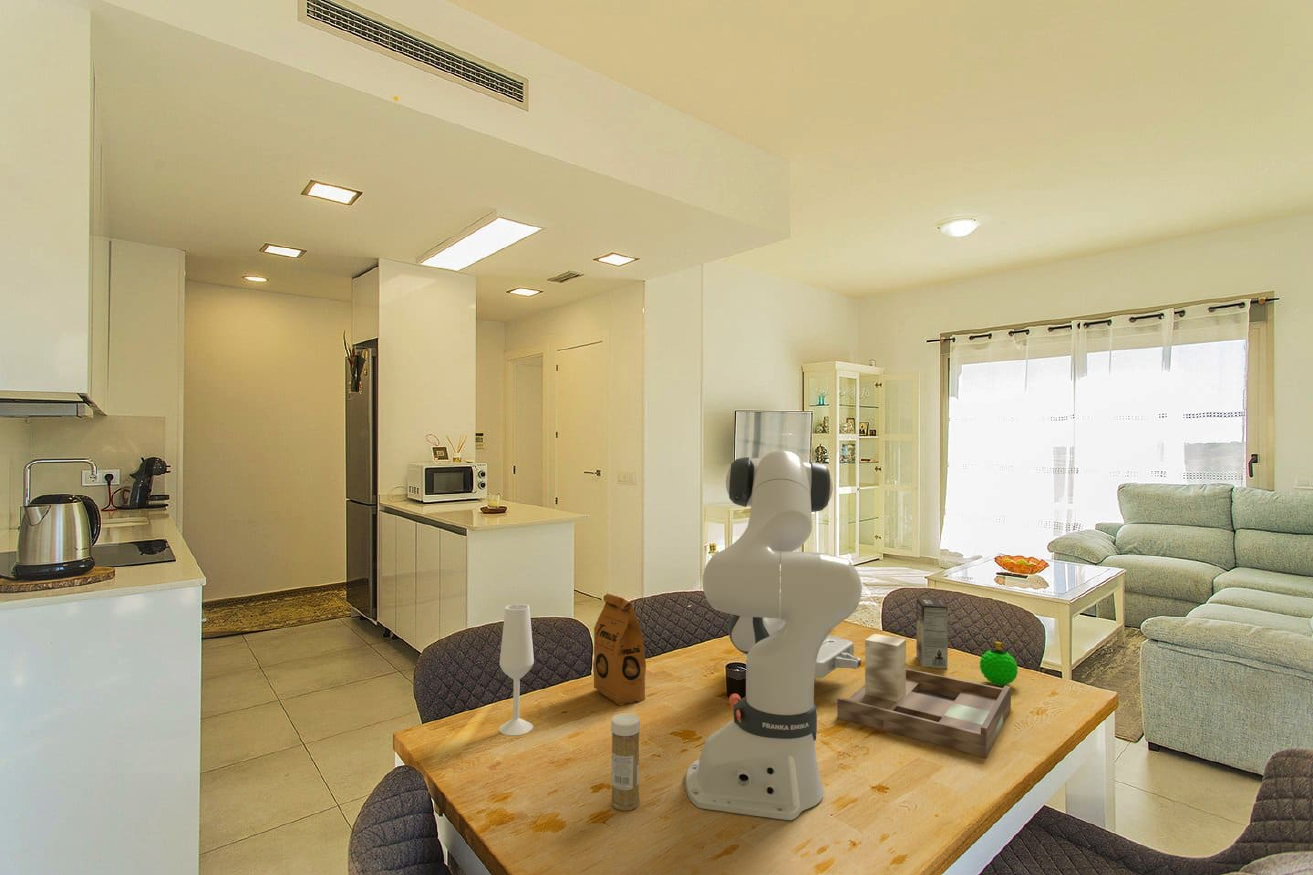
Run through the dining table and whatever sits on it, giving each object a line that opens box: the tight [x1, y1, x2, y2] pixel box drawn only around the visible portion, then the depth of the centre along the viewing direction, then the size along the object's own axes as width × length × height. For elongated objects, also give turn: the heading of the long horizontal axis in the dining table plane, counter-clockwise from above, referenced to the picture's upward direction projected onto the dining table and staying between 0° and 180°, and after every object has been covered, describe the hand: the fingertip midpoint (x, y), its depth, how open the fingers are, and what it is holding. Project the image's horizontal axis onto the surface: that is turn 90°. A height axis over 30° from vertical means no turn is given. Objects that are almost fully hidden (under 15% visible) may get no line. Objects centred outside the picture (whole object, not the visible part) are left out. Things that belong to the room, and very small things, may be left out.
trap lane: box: [836, 667, 1012, 758], centre depth 137 cm, size 28×28×5 cm
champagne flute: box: [498, 603, 535, 736], centre depth 128 cm, size 7×7×24 cm
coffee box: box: [915, 597, 949, 670], centre depth 169 cm, size 9×6×16 cm
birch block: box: [864, 633, 907, 702], centre depth 142 cm, size 7×6×12 cm
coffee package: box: [592, 592, 647, 706], centre depth 145 cm, size 10×12×22 cm
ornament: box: [979, 641, 1019, 686], centre depth 154 cm, size 8×8×10 cm
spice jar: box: [610, 712, 641, 812], centre depth 101 cm, size 5×5×13 cm
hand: (859, 663), depth 145 cm, fingers closed
